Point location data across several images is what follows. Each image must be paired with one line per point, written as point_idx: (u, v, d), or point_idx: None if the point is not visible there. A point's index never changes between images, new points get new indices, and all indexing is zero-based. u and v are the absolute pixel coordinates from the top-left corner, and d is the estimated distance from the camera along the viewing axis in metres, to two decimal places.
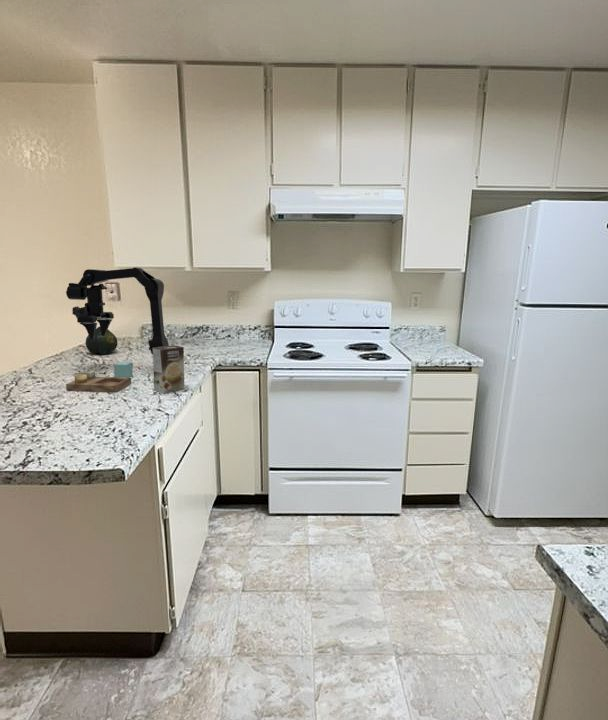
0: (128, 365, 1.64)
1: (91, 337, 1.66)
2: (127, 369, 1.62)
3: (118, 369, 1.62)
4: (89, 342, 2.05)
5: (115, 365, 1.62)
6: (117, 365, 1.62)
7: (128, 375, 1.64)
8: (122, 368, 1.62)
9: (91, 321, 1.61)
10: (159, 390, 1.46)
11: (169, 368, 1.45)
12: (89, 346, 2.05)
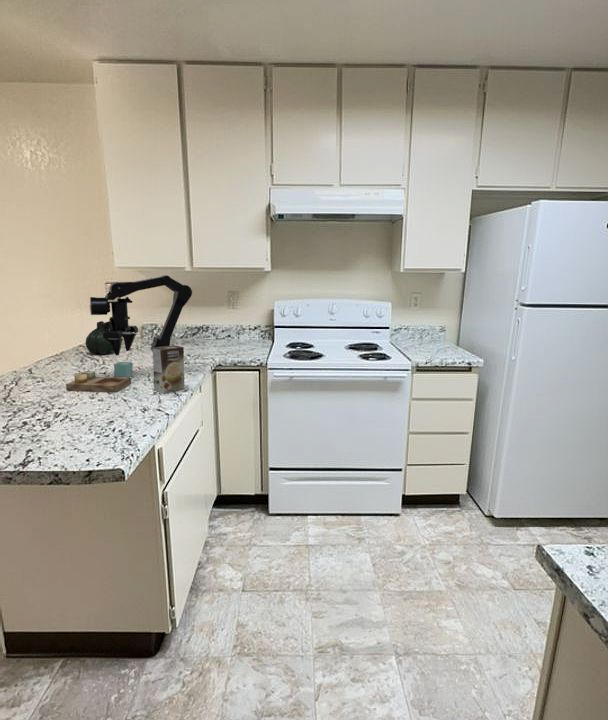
0: (128, 365, 1.64)
1: (116, 353, 1.58)
2: (127, 369, 1.62)
3: (118, 369, 1.62)
4: (89, 342, 2.05)
5: (115, 365, 1.62)
6: (117, 365, 1.62)
7: (128, 375, 1.64)
8: (122, 368, 1.62)
9: (117, 337, 1.53)
10: (159, 390, 1.46)
11: (169, 368, 1.45)
12: (89, 346, 2.05)
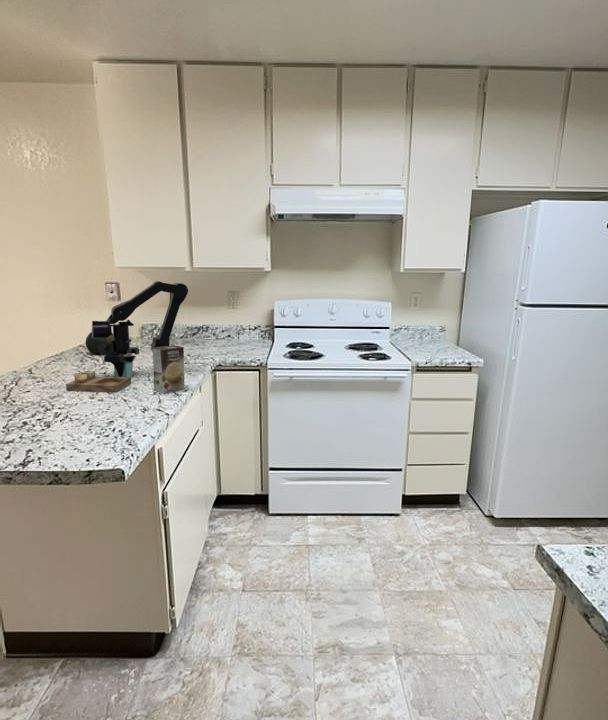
0: (128, 365, 1.63)
1: (120, 375, 1.62)
2: (127, 368, 1.62)
3: None
4: (89, 342, 2.05)
5: None
6: None
7: (128, 375, 1.64)
8: None
9: (118, 360, 1.54)
10: (159, 390, 1.46)
11: (169, 368, 1.45)
12: (89, 346, 2.05)
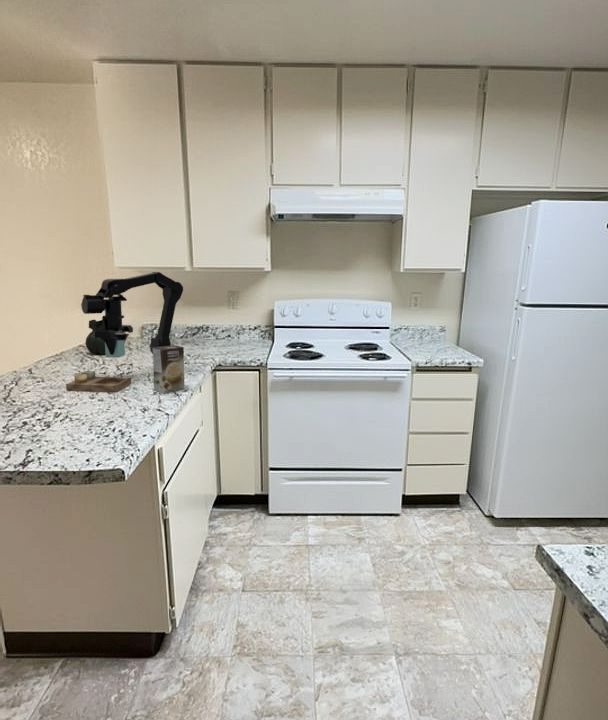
0: (120, 342, 1.55)
1: (111, 352, 1.53)
2: (118, 346, 1.54)
3: None
4: (89, 342, 2.05)
5: None
6: None
7: (120, 353, 1.55)
8: None
9: (109, 336, 1.46)
10: (159, 390, 1.46)
11: (169, 368, 1.45)
12: (89, 346, 2.05)
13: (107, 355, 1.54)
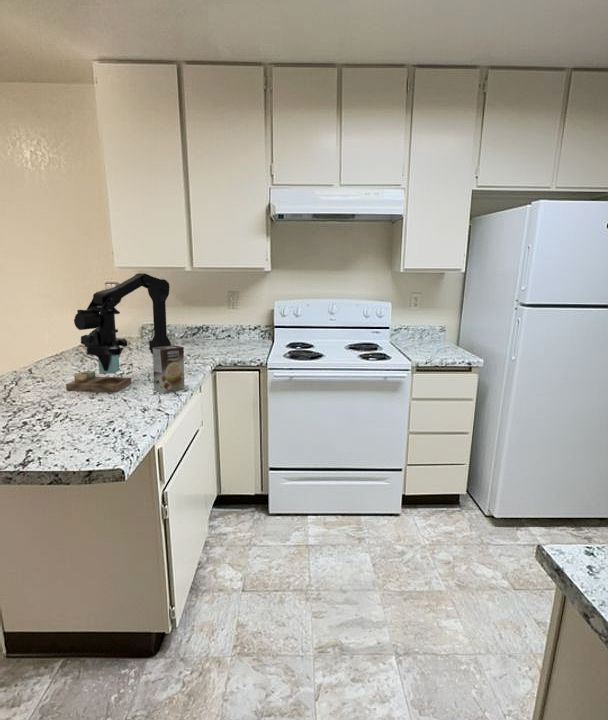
0: (114, 358, 1.48)
1: (105, 369, 1.46)
2: (113, 362, 1.47)
3: None
4: None
5: None
6: None
7: (114, 369, 1.48)
8: None
9: (103, 353, 1.39)
10: (159, 390, 1.46)
11: (169, 368, 1.45)
12: None
13: (101, 371, 1.47)
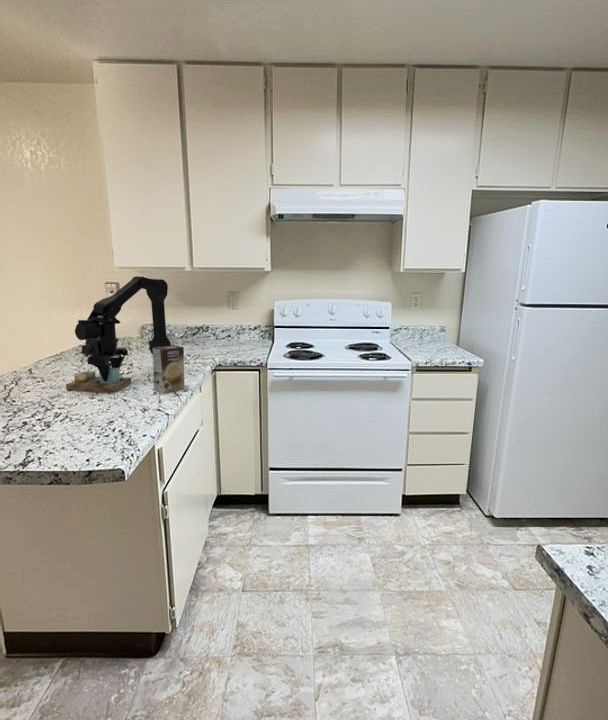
0: (115, 371, 1.49)
1: (104, 379, 1.46)
2: (114, 375, 1.48)
3: None
4: (89, 342, 2.05)
5: None
6: None
7: (115, 382, 1.49)
8: None
9: (103, 363, 1.39)
10: (159, 390, 1.46)
11: (169, 368, 1.45)
12: None
13: None
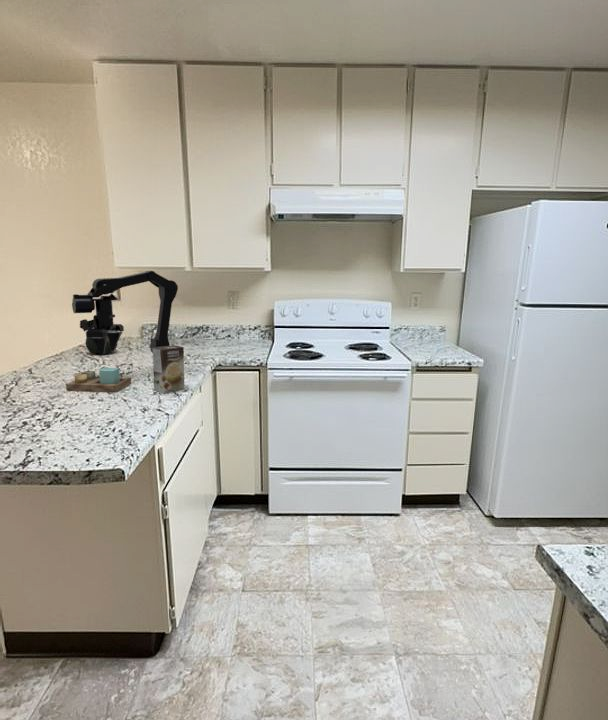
0: (115, 371, 1.49)
1: (101, 353, 1.52)
2: (114, 375, 1.48)
3: (104, 376, 1.47)
4: (89, 342, 2.05)
5: (100, 371, 1.47)
6: (103, 371, 1.47)
7: (115, 382, 1.49)
8: (108, 374, 1.47)
9: (102, 336, 1.47)
10: (159, 390, 1.46)
11: (169, 368, 1.45)
12: (89, 346, 2.05)
13: None
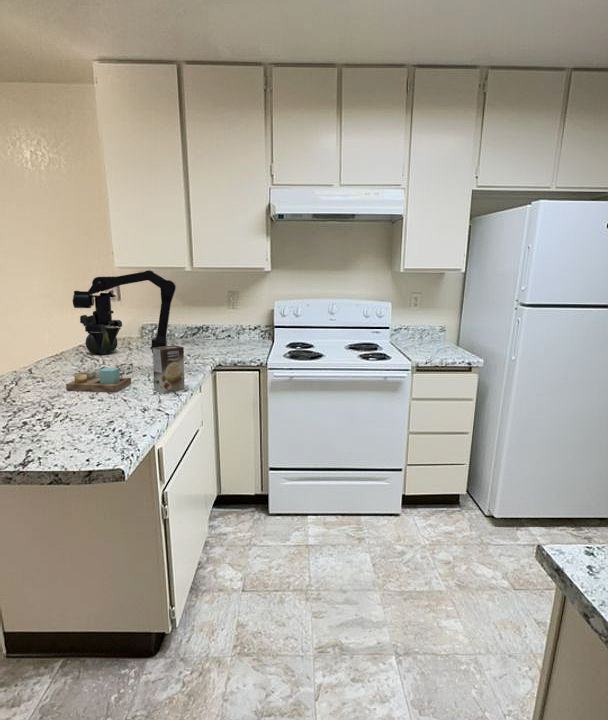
0: (115, 371, 1.49)
1: (99, 346, 1.61)
2: (114, 375, 1.48)
3: (104, 376, 1.47)
4: (89, 342, 2.05)
5: (100, 371, 1.47)
6: (103, 371, 1.47)
7: (115, 382, 1.49)
8: (108, 374, 1.47)
9: (100, 330, 1.55)
10: (159, 390, 1.46)
11: (169, 368, 1.45)
12: (89, 346, 2.05)
13: None
